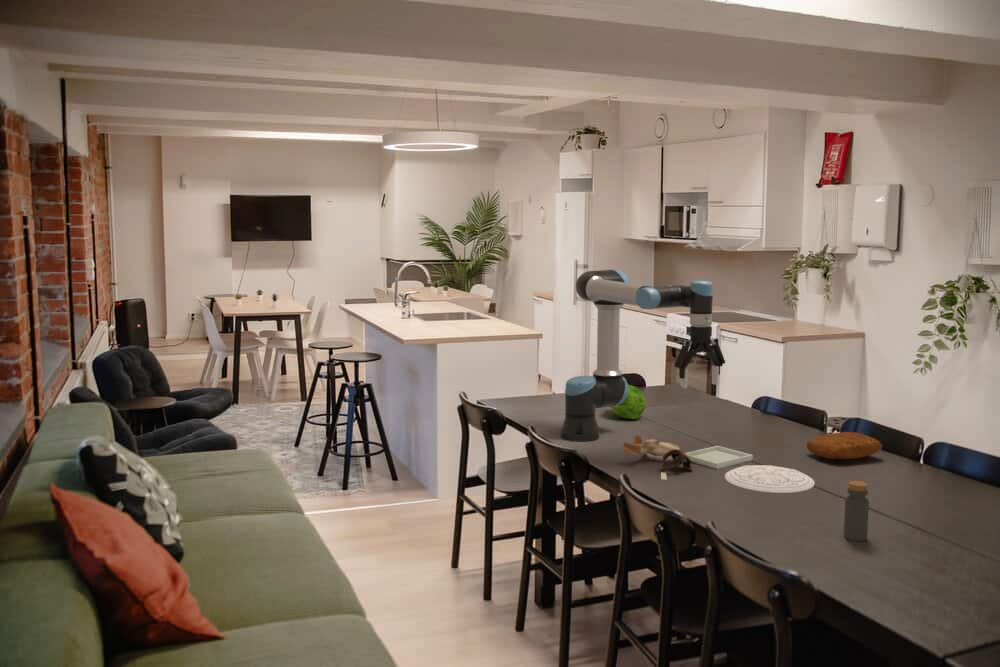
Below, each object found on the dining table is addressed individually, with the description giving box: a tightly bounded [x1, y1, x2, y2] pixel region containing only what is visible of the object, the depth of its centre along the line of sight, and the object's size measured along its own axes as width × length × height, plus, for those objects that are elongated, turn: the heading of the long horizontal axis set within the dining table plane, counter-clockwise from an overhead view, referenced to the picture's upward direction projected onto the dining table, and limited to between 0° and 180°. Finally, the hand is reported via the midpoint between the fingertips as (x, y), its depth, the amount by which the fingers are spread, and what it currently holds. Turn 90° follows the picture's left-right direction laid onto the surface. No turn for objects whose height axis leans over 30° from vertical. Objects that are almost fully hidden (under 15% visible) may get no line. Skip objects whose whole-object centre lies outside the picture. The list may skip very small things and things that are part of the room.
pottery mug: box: [662, 448, 693, 473], centre depth 303 cm, size 12×10×8 cm
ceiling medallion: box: [724, 464, 815, 494], centre depth 291 cm, size 28×28×3 cm
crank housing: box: [646, 451, 673, 462], centre depth 318 cm, size 11×11×2 cm
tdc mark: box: [660, 471, 668, 481], centre depth 295 cm, size 8×2×1 cm, turn 171°
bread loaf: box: [806, 431, 883, 460], centre depth 316 cm, size 22×17×8 cm
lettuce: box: [609, 384, 647, 420], centre depth 383 cm, size 15×22×15 cm
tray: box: [684, 445, 754, 470], centre depth 314 cm, size 16×19×2 cm
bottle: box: [843, 480, 870, 542], centre depth 237 cm, size 6×6×15 cm
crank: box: [622, 434, 681, 456], centre depth 315 cm, size 22×12×7 cm, turn 126°
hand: (699, 386), depth 311 cm, fingers open, 13 cm apart
